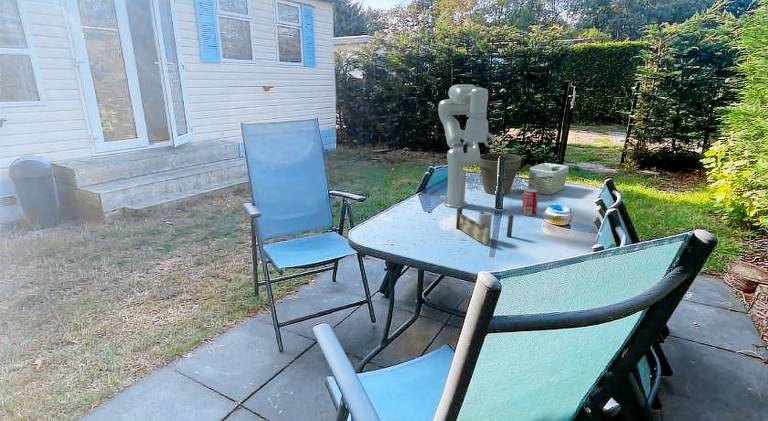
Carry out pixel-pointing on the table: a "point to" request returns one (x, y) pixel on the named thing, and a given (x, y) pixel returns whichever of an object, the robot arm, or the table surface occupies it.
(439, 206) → the table surface
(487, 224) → the energy drink
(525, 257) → the table surface
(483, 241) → the gate
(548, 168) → the storage basket
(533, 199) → the soda can
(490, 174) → the plant pot
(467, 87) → the robot arm
